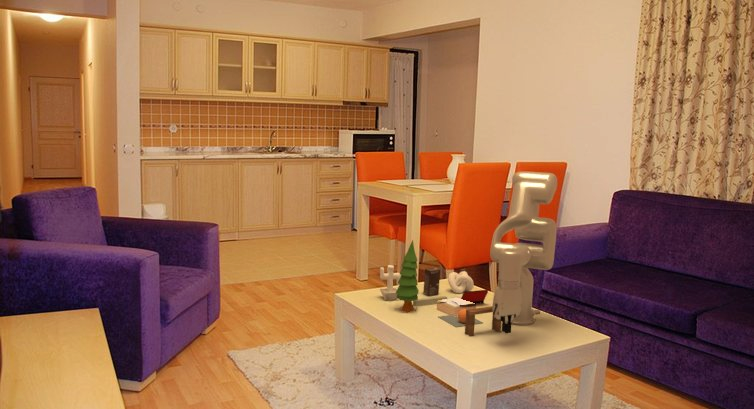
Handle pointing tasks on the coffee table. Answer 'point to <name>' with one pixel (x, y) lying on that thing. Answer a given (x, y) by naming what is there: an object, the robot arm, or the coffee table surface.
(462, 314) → the ball
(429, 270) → the box
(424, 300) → the wall
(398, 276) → the figurine
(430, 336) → the coffee table surface
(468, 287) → the decorative knot
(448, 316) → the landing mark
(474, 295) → the handheld game console
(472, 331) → the bridge
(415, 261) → the decorative tree
